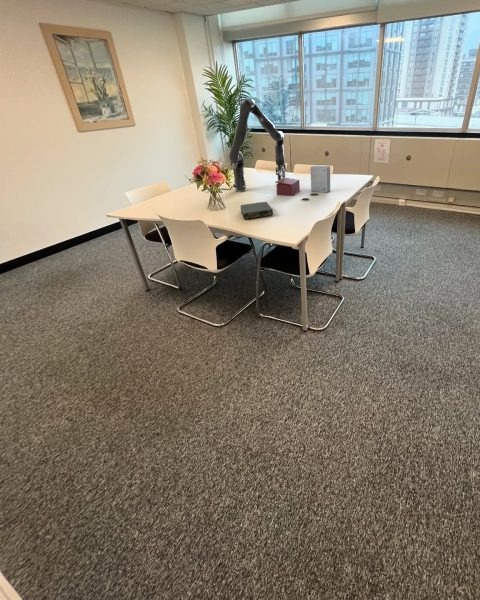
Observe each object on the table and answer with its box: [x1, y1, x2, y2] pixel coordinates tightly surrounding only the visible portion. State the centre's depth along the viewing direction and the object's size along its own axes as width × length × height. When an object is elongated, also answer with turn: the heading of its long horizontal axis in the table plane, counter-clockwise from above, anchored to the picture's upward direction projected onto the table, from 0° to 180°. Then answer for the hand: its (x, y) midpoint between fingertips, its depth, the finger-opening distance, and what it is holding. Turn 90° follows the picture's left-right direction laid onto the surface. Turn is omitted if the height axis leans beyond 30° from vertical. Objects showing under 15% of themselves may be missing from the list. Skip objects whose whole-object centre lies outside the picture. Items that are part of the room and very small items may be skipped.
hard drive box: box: [310, 165, 331, 193], centre depth 270 cm, size 16×8×20 cm, turn 65°
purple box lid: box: [275, 173, 300, 185], centre depth 268 cm, size 15×16×6 cm
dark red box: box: [275, 180, 301, 197], centre depth 273 cm, size 15×16×9 cm
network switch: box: [240, 201, 274, 221], centre depth 233 cm, size 23×24×5 cm
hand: (281, 178), depth 271 cm, fingers open, 8 cm apart
